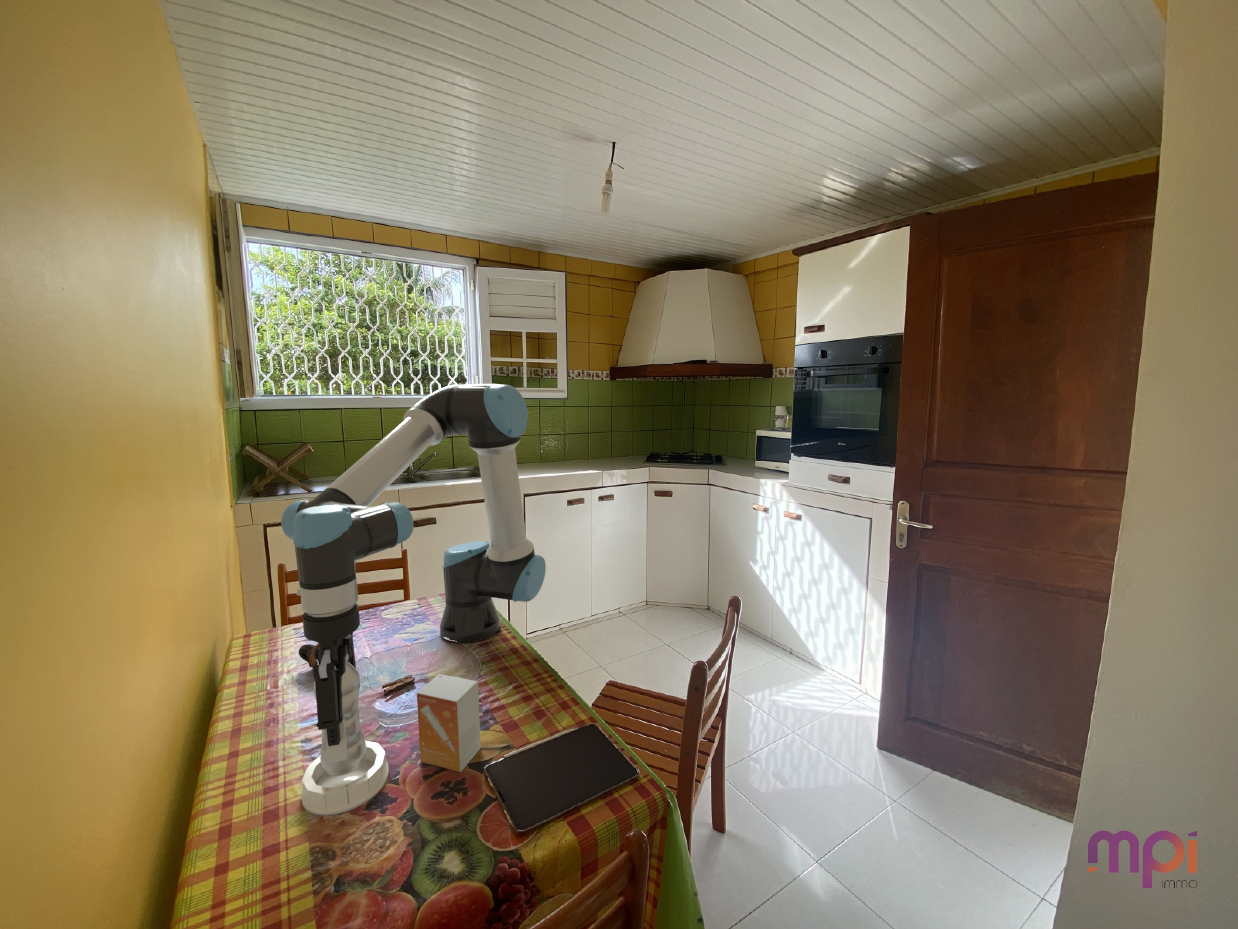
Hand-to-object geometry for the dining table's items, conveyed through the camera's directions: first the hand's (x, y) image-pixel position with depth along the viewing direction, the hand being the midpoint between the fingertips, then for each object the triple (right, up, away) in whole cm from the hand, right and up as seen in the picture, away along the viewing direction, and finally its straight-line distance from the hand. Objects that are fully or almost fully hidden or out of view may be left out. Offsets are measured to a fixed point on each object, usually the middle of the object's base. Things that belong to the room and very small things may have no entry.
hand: (343, 744), depth 81 cm
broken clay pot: (-23, -2, +35) cm, 42 cm away
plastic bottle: (0, -4, +1) cm, 4 cm away
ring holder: (0, -7, +1) cm, 7 cm away
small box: (+15, -6, +7) cm, 18 cm away
